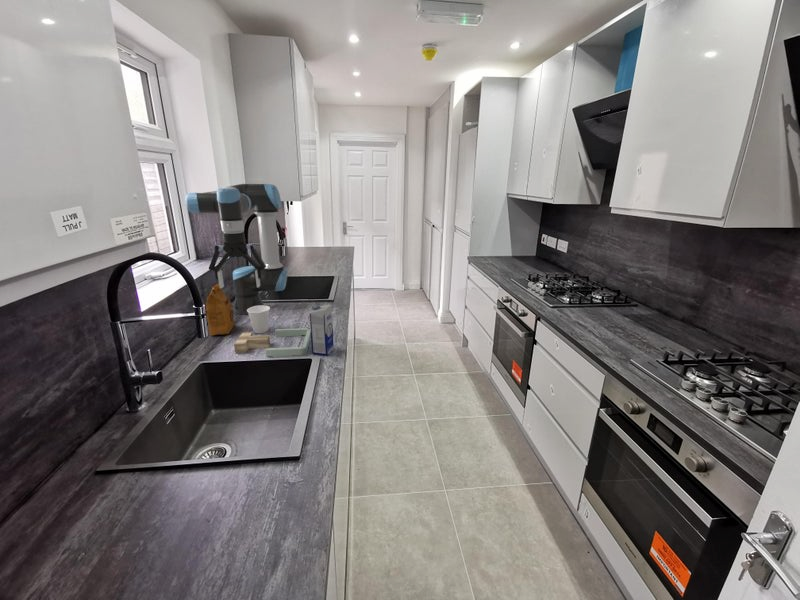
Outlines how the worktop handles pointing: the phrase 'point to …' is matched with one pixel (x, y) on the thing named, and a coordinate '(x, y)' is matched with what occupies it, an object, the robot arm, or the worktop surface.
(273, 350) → the dock bay
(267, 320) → the cup
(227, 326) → the coffee package
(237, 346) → the t block
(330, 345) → the milk carton
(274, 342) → the worktop surface
